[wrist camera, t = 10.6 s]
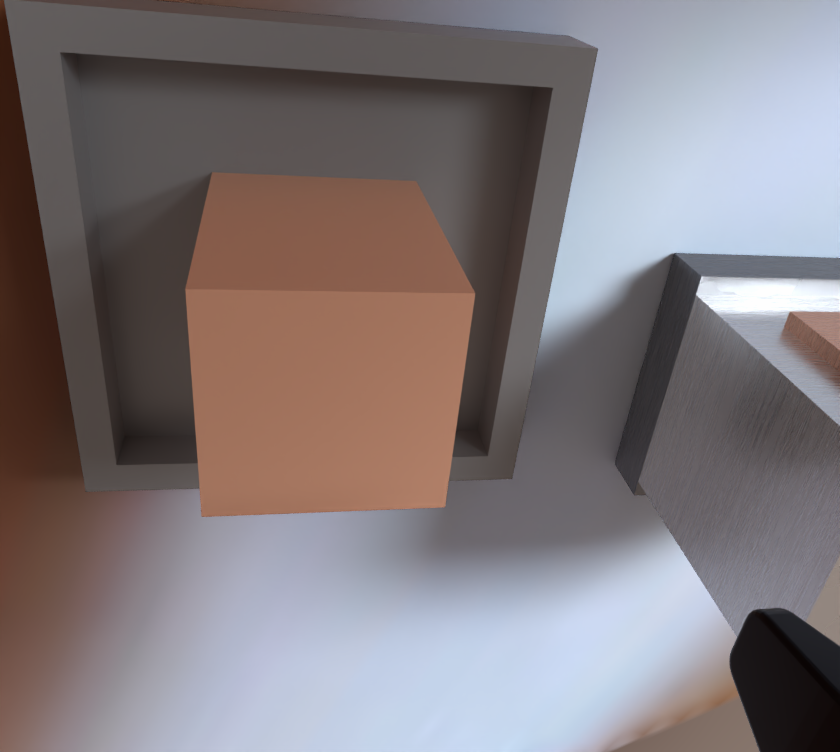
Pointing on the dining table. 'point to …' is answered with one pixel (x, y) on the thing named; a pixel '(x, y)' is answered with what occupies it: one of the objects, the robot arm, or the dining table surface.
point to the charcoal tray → (281, 155)
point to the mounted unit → (746, 430)
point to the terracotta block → (324, 346)
